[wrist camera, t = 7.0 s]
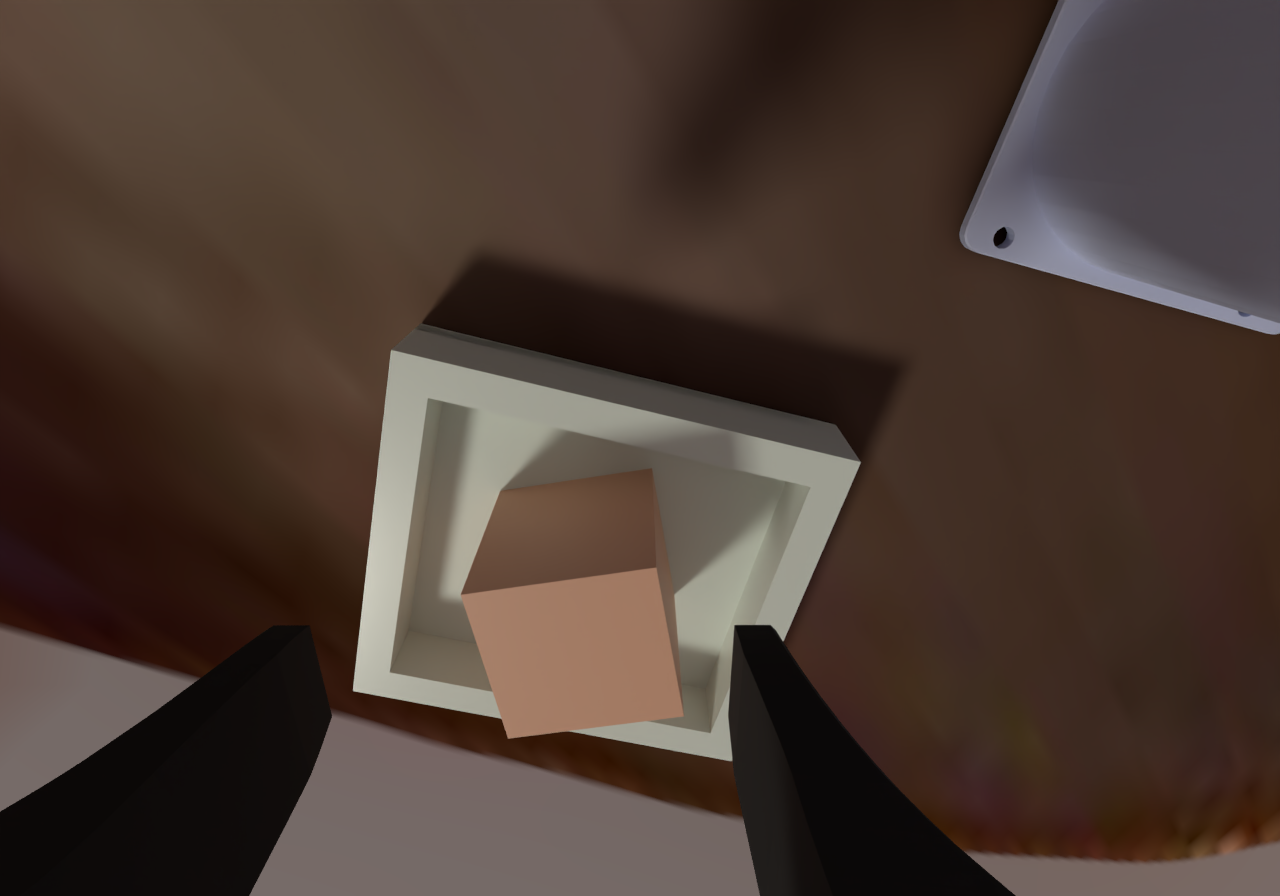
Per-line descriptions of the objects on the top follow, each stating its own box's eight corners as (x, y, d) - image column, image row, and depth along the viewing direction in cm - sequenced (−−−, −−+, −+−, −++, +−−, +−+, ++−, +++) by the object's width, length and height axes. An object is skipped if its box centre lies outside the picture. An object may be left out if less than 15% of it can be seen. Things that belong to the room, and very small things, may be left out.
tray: (835, 424, 20) (861, 462, 18) (722, 702, 25) (731, 761, 22) (420, 323, 19) (391, 349, 17) (380, 635, 23) (353, 690, 21)
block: (652, 468, 20) (656, 567, 15) (674, 594, 22) (683, 716, 17) (500, 491, 20) (460, 594, 16) (534, 613, 22) (508, 738, 18)
